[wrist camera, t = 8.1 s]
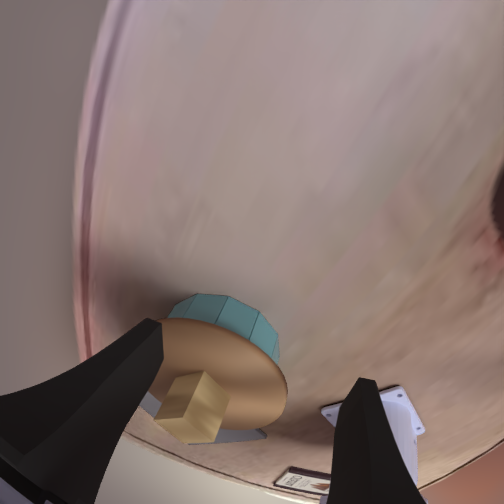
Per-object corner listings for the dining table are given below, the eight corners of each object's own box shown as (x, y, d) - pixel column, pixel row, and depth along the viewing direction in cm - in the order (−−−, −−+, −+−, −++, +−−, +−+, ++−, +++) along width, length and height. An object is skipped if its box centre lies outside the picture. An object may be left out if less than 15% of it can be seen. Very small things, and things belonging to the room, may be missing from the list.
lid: (317, 410, 21) (308, 466, 17) (201, 427, 27) (184, 469, 23) (216, 292, 18) (182, 353, 14) (108, 341, 24) (76, 383, 19)
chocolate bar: (374, 501, 38) (273, 485, 40) (375, 497, 39) (274, 480, 41) (404, 485, 34) (291, 469, 35) (405, 480, 34) (292, 463, 36)
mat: (266, 435, 32) (266, 438, 32) (189, 442, 38) (188, 444, 38) (189, 365, 29) (187, 369, 28) (119, 384, 35) (118, 386, 34)
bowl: (300, 361, 25) (292, 401, 22) (217, 384, 29) (203, 417, 26) (231, 276, 22) (211, 313, 19) (150, 316, 27) (128, 348, 23)
